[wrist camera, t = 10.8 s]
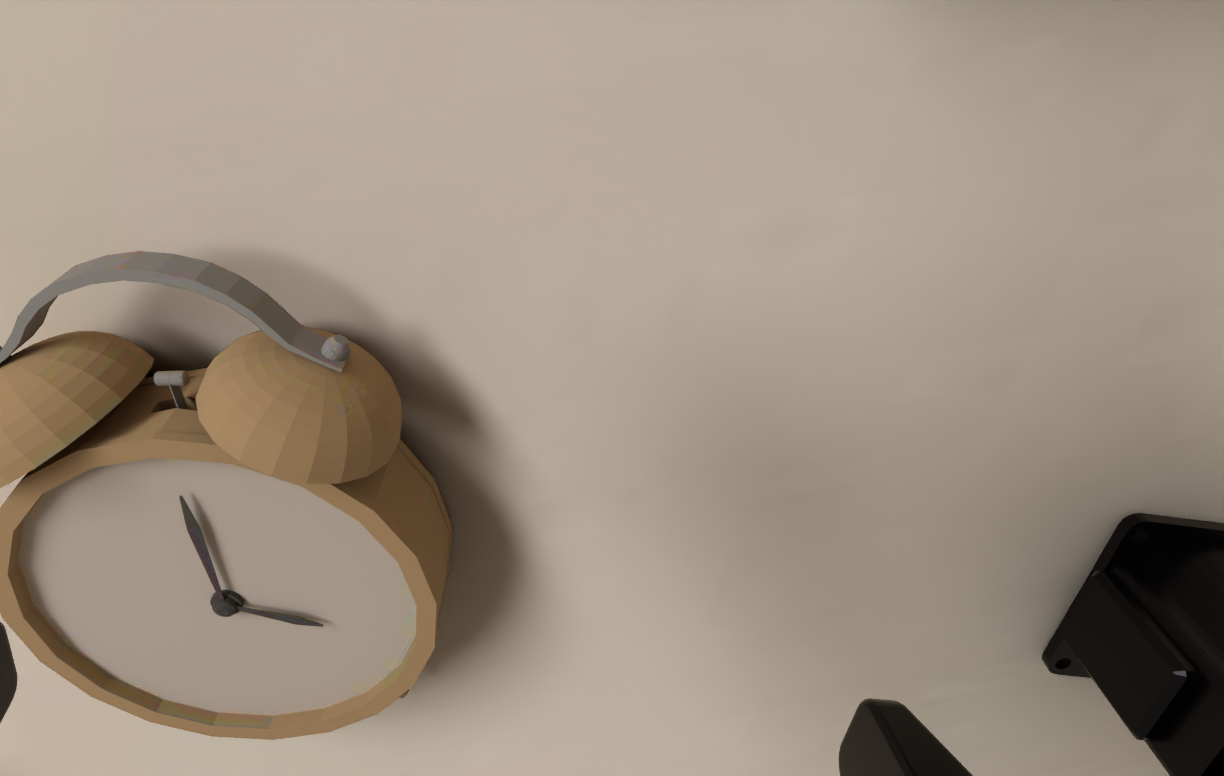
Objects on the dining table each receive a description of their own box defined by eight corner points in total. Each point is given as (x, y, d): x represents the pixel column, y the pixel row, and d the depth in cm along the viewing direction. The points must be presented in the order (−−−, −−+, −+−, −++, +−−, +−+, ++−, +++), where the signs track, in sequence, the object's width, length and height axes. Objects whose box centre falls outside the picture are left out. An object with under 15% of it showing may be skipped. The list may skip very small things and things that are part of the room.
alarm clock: (87, 751, 24) (-258, 345, 14) (155, 612, 28) (-82, 221, 18) (461, 737, 24) (361, 330, 15) (477, 602, 28) (406, 211, 19)
